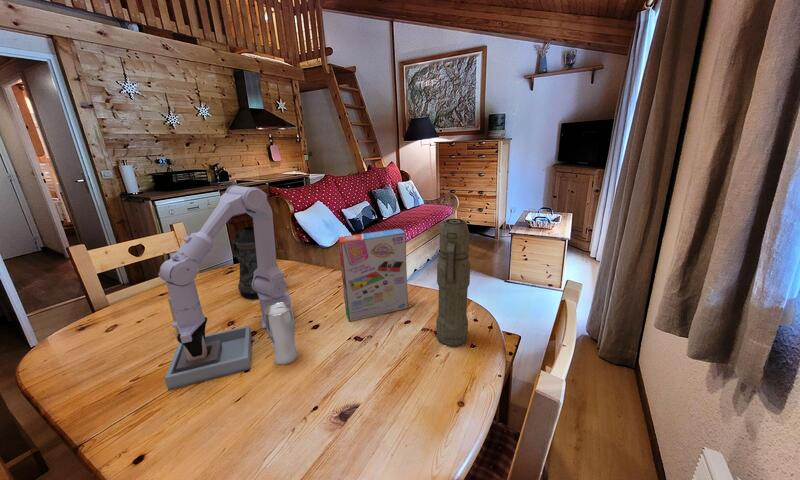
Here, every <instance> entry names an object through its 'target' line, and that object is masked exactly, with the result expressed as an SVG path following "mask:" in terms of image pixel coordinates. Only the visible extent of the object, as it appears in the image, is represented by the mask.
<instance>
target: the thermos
mask: <svg viewBox="0 0 800 480" xmlns="http://www.w3.org/2000/svg"><path fill="white" fill-rule="evenodd" d="M469 246H470V231H469V227H468V223H467V221H466V220H464V219H460V218H448V219H446V220H444V221H443V222H442V224H441V227H440V230H439V256H438V257H439V258H438V261H437V264H436V283H437V285H438V304H437V305H438V306H437V307H438V311H437V312H438V313H437V314H438V315H437V317H436V324H435V325H436V327H435V328H436V329H435V330H436V339H438V340H437V342H439V344H441V345H442V346H444V345H446V346H445V347H448V346H450V347H449V348H458V346H459V347H462V346H464V345H465V344H466V343H467V341H468V333H469V319H468V316H467V314H468V313H467V312H468V289H469V286H470V284H471V283H470V281H471V280H470V279H471V263H470V260H469V253H468V252H469V249H470V247H469ZM463 344H464V345H463ZM461 345H462V346H461Z"/></svg>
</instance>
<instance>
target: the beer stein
mask: <svg viewBox="0 0 800 480" xmlns="http://www.w3.org/2000/svg"><path fill="white" fill-rule="evenodd" d="M231 248H232V252H233V254H234V256H235V258H236V260H237V261H238V263H239V282H238V286H237V287H238V291H239V293H240V295H241V297H243V299H246V300H252V301H253V300H259V296H258V294H257V292H255V291H254V290H253V288H252V281H253V277H254V274H253V272H254V271H255V270H256V269H257V268H258V266H257V256H256V245H255V235H254V226H247V227H243V230H238V231H236V233H235V237H234V238H233V240H232V244H231ZM277 267H278V268H279V266H278V265H277Z"/></svg>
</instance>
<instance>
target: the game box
mask: <svg viewBox="0 0 800 480" xmlns="http://www.w3.org/2000/svg"><path fill="white" fill-rule="evenodd" d="M406 236H407V235H406V232H405V231H404V230H403V229H401V228H394V229H387V230H380V231H374V232H372V231H371V232H365V233H360V234H358V233H357V234H353V235H344V236H338V247H339V248H338V250H339V258H340V259H339V261H340V268H341V276H342V277H341V278H342V279H341V280H342V287H343V289H342V290H343V297H344V307H345V315H346V317H347V321H348V323H349V322H355V321H357V320H358V321H359V320H362V319H367V318H372V317H376V316H380V315H384V314H389V313H393V312H397V311H402V310H406V309H409V296H408V295H409V294H408V293H409V292H408V275H407V271H408V270H407V245H406V244H407V243H406V242H407V237H406Z"/></svg>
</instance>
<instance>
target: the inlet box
mask: <svg viewBox="0 0 800 480" xmlns="http://www.w3.org/2000/svg"><path fill="white" fill-rule="evenodd" d="M252 337H253V336H252V331H251V326H250V325H245V326H241V327H237V328H236V327H235V328H231V329H228V330H223V331H217V332H214V333H208V334H205V344H206V348H207V351H208V352H207V356H206V358H202V359H197V360H193V361H189V362H188V360H187V357H186V353H185V350H184V347H183V346H184V345H183V344H181V343H180V342H178V343H177V346H176V349H175V351H174V354H173V356H172V358H171V362H170V364H169V367H168V369H167V372H166V374H165V376H164V381H165V384H166V387H167V390H168V391H171V390H175V389H179V388H182V387H187V386H191V385H194V384H199V383H201V382H205V381H209V380H213V379H217V378H221V377H224V376H225V377H226V376H229V375H232V374H237V373H240V372H243V371H248V370H251V360H252V359H251V358H252V355H251V354H252V340H253V339H252Z"/></svg>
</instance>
